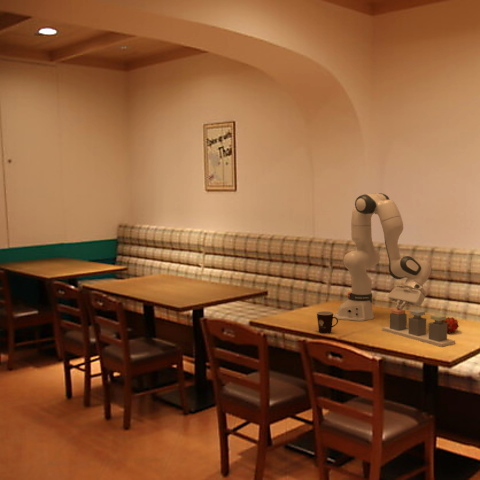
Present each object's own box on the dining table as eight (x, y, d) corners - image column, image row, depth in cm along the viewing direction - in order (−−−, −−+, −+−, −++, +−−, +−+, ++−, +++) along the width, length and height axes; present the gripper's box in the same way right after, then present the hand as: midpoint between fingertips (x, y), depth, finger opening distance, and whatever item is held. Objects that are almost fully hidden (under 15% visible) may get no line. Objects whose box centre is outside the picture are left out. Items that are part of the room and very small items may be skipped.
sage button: (430, 325, 300) (430, 315, 299) (437, 323, 302) (437, 314, 302) (438, 327, 295) (439, 317, 295) (445, 325, 298) (445, 316, 298)
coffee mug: (313, 330, 326) (313, 312, 324) (328, 329, 329) (328, 310, 328) (324, 336, 315) (324, 316, 314) (339, 334, 318) (339, 315, 317)
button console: (382, 330, 324) (382, 312, 322) (395, 327, 329) (395, 310, 328) (441, 347, 292) (441, 327, 291) (455, 343, 297) (455, 324, 296)
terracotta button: (391, 318, 321) (391, 309, 320) (397, 317, 324) (397, 308, 323) (398, 320, 317) (398, 311, 316) (405, 319, 320) (405, 310, 319)
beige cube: (410, 320, 310) (410, 311, 310) (416, 318, 313) (417, 309, 312) (417, 321, 306) (418, 312, 305) (424, 320, 309) (424, 311, 308)
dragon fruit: (440, 336, 315) (454, 336, 322) (452, 329, 310) (466, 329, 317) (433, 321, 319) (447, 321, 326) (445, 314, 314) (459, 314, 321)
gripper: (393, 281, 331) (380, 302, 327) (424, 287, 314) (410, 308, 310) (399, 288, 334) (386, 309, 330) (429, 294, 317) (416, 316, 313)
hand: (398, 308), depth 320 cm, fingers closed, pressing on terracotta button
